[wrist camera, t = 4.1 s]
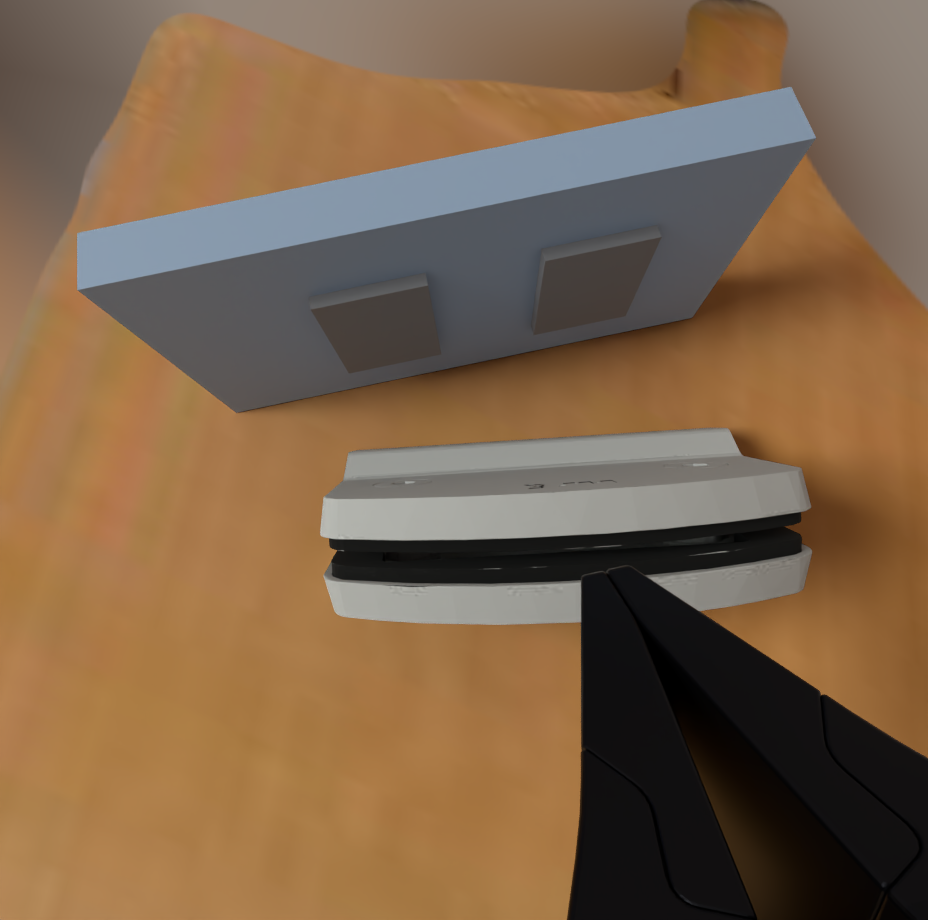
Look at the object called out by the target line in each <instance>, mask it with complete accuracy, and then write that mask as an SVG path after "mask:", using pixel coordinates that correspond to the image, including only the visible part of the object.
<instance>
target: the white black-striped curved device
mask: <svg viewBox="0 0 928 920" xmlns="http://www.w3.org/2000/svg"><path fill="white" fill-rule="evenodd" d="M810 508H811V504H810V500H809V496H808V492H807V488H806V484H805V480H804V476H803V472H802V469H801V468H800V467H795V466H790V465H785V464H780V463H775V462H770V461H765V460H760V459H755V458H750V457H745V456H743V455H742V454H741V453H740V451H739V449H738V447H737V445H736V443H735V441H734V439H733V437H732V434H731V432H730V431H729V429H727V428H699V429H683V430H668V431H652V432H636V433H621V434H605V435H590V436H574V437H558V438H543V439H527V440H511V441H496V442H480V443H464V444H449V445H433V446H417V447H402V448H386V449H370V450H357V451H352V452H349V453H348V458H347V464H346V469H345V475H344V479H343V481H342V482H341V483H340V484H339V485H338V486H336V487H335V488H334V489H333V490H332V491H331V492H329V493H328V494H327V495H326V496H325V497H324V500H323V510H322V520H321V530H320V535H321V536H323V537H325V538H329V544H330V548H332V549H335V550H337V552H336V554H335V555H334V557H333V559H332V561H331V563H330V565H329V567H328V569H327V570H326V572H325V574H324V579H325V582H326V585H327V588H328V592H329V595H330V598H331V601H332V604H333V607H334V611H335V612H336V613H337V614H338V615H340V616H343V617H350V618H360V619H370V620H380V621H396V622H412V623H438V624H489V625H508V624H540V623H573V622H581V577H582V576H583V575H585V574H590V573H594V572H598V571H603V572H606V571H607V570H608V569H611V568H616V567H620V566H625V565H628V566H631V567H633V568H635V569H636V570H638V571H639V572H641V573H642V574H644V575H645V576H647V577H648V578H650V579H651V580H653V581H654V582H656V583H657V584H659V585H660V586H662V587H663V588H665V589H666V590H668V591H669V592H671V593H672V594H674V595H675V596H677V597H678V598H680V599H681V600H683V601H685V602H686V603H688V604H689V605H691V606H692V607H694V608H695V609H697V610H698V611H703V610H710V609H716V608H723V607H730V606H736V605H741V604H746V603H752V602H757V601H762V600H767V599H772V598H776V597H781V596H786V595H790V594H795V593H798V592H800V591H801V590H803V588H804V585H805V580H806V576H807V572H808V568H809V563H810V559H811V555H812V550H811V549H810V548H809V547H808V546H806V545H804V544H802V537H801V535H800V534H798V533H796V532H794V531H792V530H790V529H788V528H786V527H783V526H789V525H794V524H797V523H800V522H801V512H803V511H806V510H808V509H810Z"/></svg>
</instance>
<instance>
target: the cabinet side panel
mask: <svg viewBox="0 0 928 920" xmlns="http://www.w3.org/2000/svg"><path fill="white" fill-rule="evenodd" d="M815 139H816V137H815V135H814V133H813V131H812V129H811V127H810V125H809V123H808V121H807V119H806V117H805V114H804V112H803V110H802V109H801V106H800V104H799V102H798V100H797V98H796V96H795V94H794V92H793V90H792V88H791V87H789V88H783V89H779V90H774V91H769V92H764V93H759V94H754V95H749V96H744V97H740V98H735V99H730V100H725V101H720V102H715V103H710V104H705V105H700V106H696V107H691V108H686V109H681V110H676V111H671V112H666V113H661V114H657V115H652V116H647V117H642V118H637V119H632V120H627V121H622V122H618V123H613V124H608V125H603V126H598V127H593V128H588V129H583V130H578V131H574V132H569V133H564V134H559V135H554V136H549V137H544V138H539V139H535V140H530V141H525V142H520V143H515V144H510V145H505V146H500V147H495V148H491V149H486V150H481V151H476V152H471V153H466V154H461V155H456V156H452V157H447V158H442V159H437V160H432V161H427V162H422V163H417V164H413V165H408V166H403V167H398V168H393V169H388V170H383V171H378V172H373V173H369V174H364V175H359V176H354V177H349V178H344V179H339V180H334V181H330V182H325V183H320V184H315V185H310V186H305V187H300V188H295V189H290V190H286V191H281V192H276V193H271V194H266V195H261V196H256V197H251V198H247V199H242V200H237V201H232V202H227V203H222V204H217V205H212V206H208V207H203V208H198V209H193V210H188V211H183V212H178V213H173V214H168V215H164V216H159V217H154V218H149V219H144V220H139V221H134V222H129V223H125V224H120V225H115V226H110V227H105V228H100V229H95V230H90V231H85V232H81V233H77V290H78V291H79V292H81V293H82V294H83V295H85V296H86V297H87V298H88V299H90V300H91V301H92V302H94V303H95V304H96V305H97V306H99V307H100V308H101V309H103V310H104V311H105V312H107V313H108V314H109V315H110V316H112V317H113V318H114V319H116V320H117V321H118V322H119V323H121V324H122V325H123V326H125V327H126V328H127V329H129V330H130V331H131V332H132V333H134V334H135V335H136V336H138V337H139V338H140V339H142V340H143V341H144V342H145V343H147V344H148V345H149V346H151V347H152V348H153V349H154V350H156V351H157V352H158V353H160V354H161V355H162V356H164V357H165V358H166V359H167V360H169V361H170V362H171V363H173V364H174V365H175V366H176V367H178V368H179V369H180V370H182V371H183V372H184V373H186V374H187V375H188V376H189V377H191V378H192V379H193V380H195V381H196V382H197V383H198V384H200V385H201V386H202V387H204V388H205V389H206V390H208V391H209V392H210V393H211V394H213V395H214V396H215V397H217V398H218V399H219V400H220V401H222V402H223V403H224V404H226V405H227V406H228V407H230V408H231V409H232V410H233V411H235V412H236V413H237V412H242V411H247V410H251V409H256V408H261V407H266V406H271V405H276V404H280V403H285V402H290V401H295V400H300V399H304V398H309V397H314V396H319V395H324V394H328V393H333V392H338V391H343V390H348V389H352V388H357V387H362V386H367V385H372V384H376V383H381V382H386V381H391V380H396V379H400V378H405V377H410V376H415V375H420V374H425V373H429V372H434V371H439V370H444V369H449V368H453V367H458V366H463V365H468V364H473V363H477V362H482V361H487V360H492V359H497V358H501V357H506V356H511V355H516V354H521V353H525V352H530V351H535V350H540V349H545V348H550V347H554V346H559V345H564V344H569V343H574V342H578V341H583V340H588V339H593V338H598V337H602V336H607V335H612V334H617V333H622V332H626V331H631V330H636V329H641V328H646V327H650V326H655V325H660V324H665V323H670V322H674V321H679V320H684V319H689V318H692V317H693V316H694V314H695V313H696V312H697V310H698V309H699V307H700V306H701V304H702V303H703V301H704V300H705V298H706V297H707V296H708V294H709V293H710V291H711V290H712V288H713V287H714V285H715V284H716V282H717V281H718V280H719V278H720V277H721V275H722V274H723V272H724V271H725V269H726V268H727V267H728V265H729V264H730V262H731V261H732V259H733V258H734V256H735V255H736V253H737V252H738V251H739V249H740V248H741V246H742V245H743V243H744V242H745V240H746V239H747V238H748V236H749V235H750V233H751V232H752V230H753V229H754V227H755V226H756V224H757V223H758V222H759V220H760V219H761V217H762V216H763V214H764V213H765V211H766V210H767V209H768V207H769V206H770V204H771V203H772V201H773V200H774V198H775V197H776V195H777V194H778V193H779V191H780V190H781V188H782V187H783V185H784V184H785V182H786V181H787V180H788V178H789V177H790V175H791V174H792V172H793V171H794V169H795V168H796V166H797V165H798V164H799V162H800V161H801V159H802V158H803V156H804V155H805V153H806V152H807V150H808V149H809V147H810V146H811V145H812V143H813V142H814V140H815Z"/></svg>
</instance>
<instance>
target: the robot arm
mask: <svg viewBox="0 0 928 920" xmlns="http://www.w3.org/2000/svg"><path fill="white" fill-rule="evenodd" d="M581 749H582V752H581V791H580V817H579V827H578V836H577V846H576V856H575V864H574V871H573V878H572V886H571V893H570V901H569V908H568V915H567V920H928V758H926V757H925V756H923V755H921V754H920V753H918V752H916V751H914V750H913V749H911V748H909V747H908V746H906V745H904V744H902V743H901V742H899V741H897V740H896V739H894V738H892V737H891V736H889V735H888V734H886V733H884V732H883V731H881V730H880V729H878V728H877V727H875V726H873V725H872V724H870V723H869V722H867V721H866V720H864V719H862V718H861V717H859V716H858V715H856V714H854V713H853V712H851V711H850V710H848V709H847V708H845V707H844V706H842V705H841V704H839V703H838V702H836V701H835V700H833V699H832V698H830V697H829V696H827V695H825V694H824V695H821V694H820V691H819V690H818V689H816V688H815V687H813V686H812V685H810V684H809V683H807V682H806V681H804V680H803V679H801V678H799V677H798V676H796V675H795V674H793V673H792V672H790V671H789V670H787V669H786V668H784V667H783V666H781V665H780V664H778V663H777V662H775V661H774V660H772V659H771V658H769V657H768V656H766V655H765V654H763V653H762V652H760V651H759V650H757V649H756V648H754V647H753V646H751V645H750V644H748V643H747V642H745V641H744V640H742V639H740V638H739V637H737V636H736V635H734V634H733V633H731V632H730V631H728V630H727V629H725V628H724V627H722V626H721V625H719V624H718V623H716V622H715V621H713V620H712V619H710V618H709V617H707V616H706V615H704V614H703V613H701V612H700V611H698V610H697V609H695V608H694V607H692V606H691V605H689V604H688V603H686V602H685V601H683V600H681V599H680V598H678V597H677V596H675V595H674V594H672V593H671V592H669V591H668V590H666V589H665V588H663V587H662V586H660V585H659V584H657V583H656V582H654V581H653V580H651V579H650V578H648V577H647V576H645V575H644V574H642V573H641V572H639V571H638V570H636V569H635V568H633V567H631V566H628V565H625V566H620V567H616V568H611V569H608V570H607V571H606V572H603V571H598V572H594V573H590V574H585V575H583V576H582V577H581Z"/></svg>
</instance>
